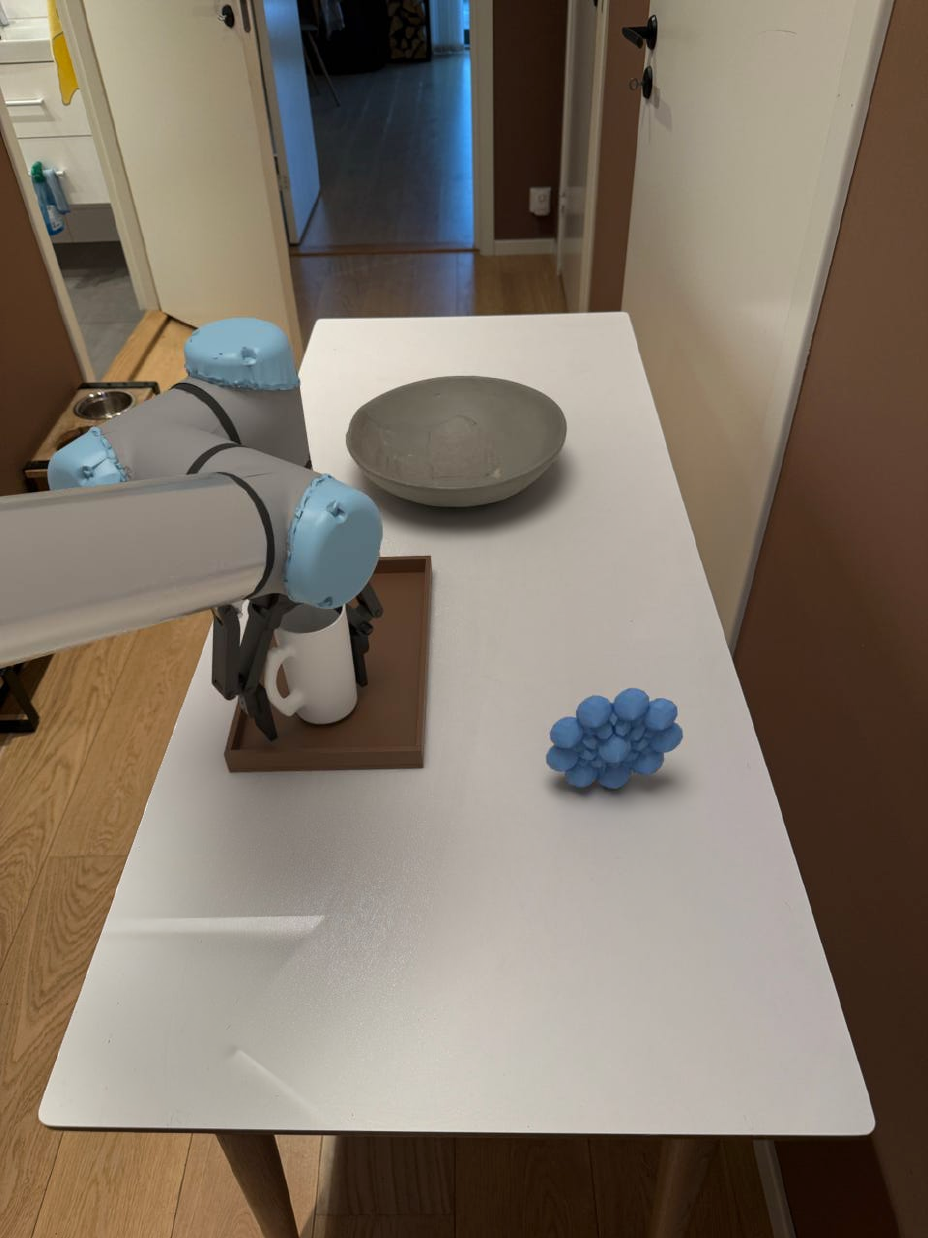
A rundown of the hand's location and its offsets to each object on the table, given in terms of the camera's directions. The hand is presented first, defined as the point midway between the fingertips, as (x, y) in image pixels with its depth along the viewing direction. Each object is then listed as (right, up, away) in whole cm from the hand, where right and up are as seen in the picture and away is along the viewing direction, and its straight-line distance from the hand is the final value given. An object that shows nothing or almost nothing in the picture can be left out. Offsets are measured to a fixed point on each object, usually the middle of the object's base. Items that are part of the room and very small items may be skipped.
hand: (313, 704), depth 89 cm
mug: (0, -1, +1) cm, 1 cm away
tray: (+2, +4, +8) cm, 9 cm away
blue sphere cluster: (+28, -6, -5) cm, 29 cm away
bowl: (+14, +26, +33) cm, 44 cm away
